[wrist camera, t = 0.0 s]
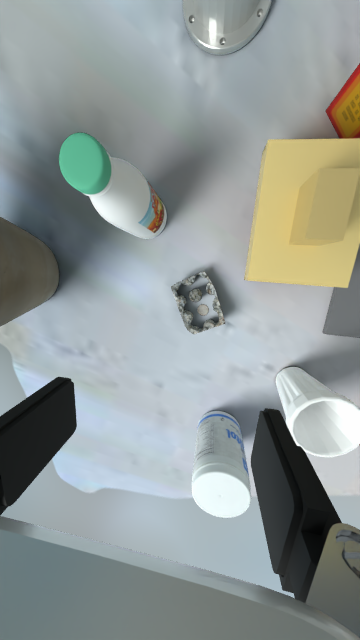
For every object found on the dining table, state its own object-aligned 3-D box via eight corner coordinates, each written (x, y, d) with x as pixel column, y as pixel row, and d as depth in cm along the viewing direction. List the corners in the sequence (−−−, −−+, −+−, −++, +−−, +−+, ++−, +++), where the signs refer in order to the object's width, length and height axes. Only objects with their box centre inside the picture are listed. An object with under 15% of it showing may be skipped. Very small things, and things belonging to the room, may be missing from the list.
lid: (262, 153, 28) (281, 108, 21) (368, 152, 26) (433, 103, 19) (244, 279, 33) (254, 282, 25) (334, 286, 31) (376, 291, 23)
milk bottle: (148, 248, 39) (87, 225, 19) (119, 219, 38) (26, 166, 19) (176, 216, 36) (137, 154, 17) (145, 184, 36) (71, 85, 17)
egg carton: (226, 320, 40) (227, 326, 36) (190, 332, 42) (188, 338, 38) (208, 269, 38) (208, 269, 34) (172, 283, 40) (168, 284, 36)
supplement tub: (249, 428, 44) (267, 501, 30) (220, 451, 47) (224, 528, 33) (216, 400, 44) (218, 461, 30) (188, 425, 47) (179, 492, 32)
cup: (328, 387, 40) (382, 441, 27) (281, 409, 42) (311, 467, 30) (302, 347, 39) (346, 384, 26) (255, 372, 41) (275, 416, 29)
